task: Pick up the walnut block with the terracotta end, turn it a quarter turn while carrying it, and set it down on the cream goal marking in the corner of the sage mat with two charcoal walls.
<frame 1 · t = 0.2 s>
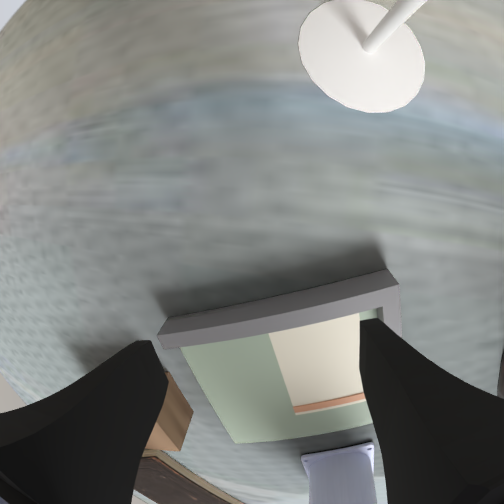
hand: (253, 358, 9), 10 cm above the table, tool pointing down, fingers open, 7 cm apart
wineglass: (364, 51, 14), on the table
walnut block: (142, 394, 25), on the table
hardcover book: (178, 485, 34), on the table
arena: (297, 380, 22), on the table
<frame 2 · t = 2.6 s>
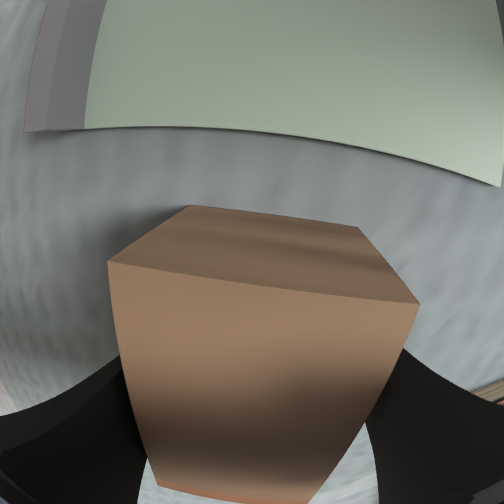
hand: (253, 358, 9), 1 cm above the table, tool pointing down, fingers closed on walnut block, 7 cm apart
walnut block: (257, 334, 11), on the table, touching gripper
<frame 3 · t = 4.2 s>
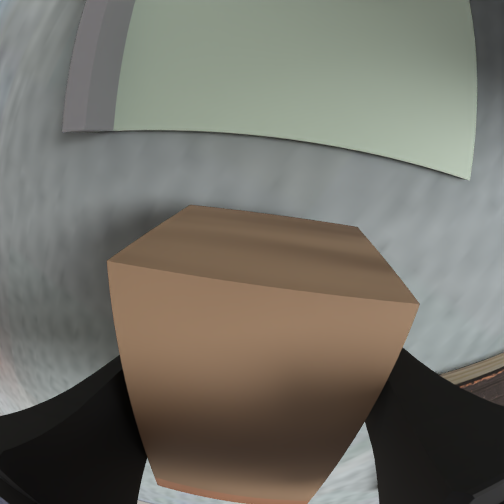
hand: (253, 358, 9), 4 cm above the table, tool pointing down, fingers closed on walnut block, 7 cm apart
walnut block: (257, 333, 11), point 2 cm above the table, touching gripper
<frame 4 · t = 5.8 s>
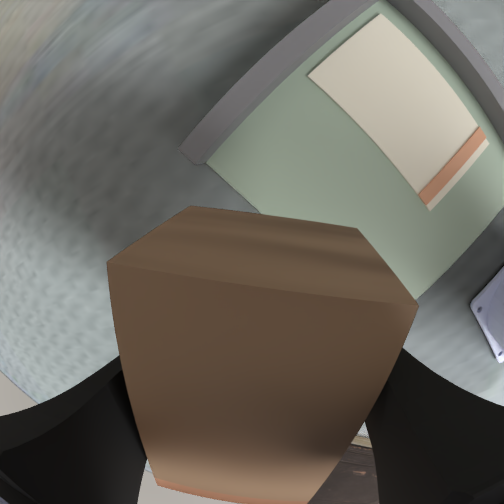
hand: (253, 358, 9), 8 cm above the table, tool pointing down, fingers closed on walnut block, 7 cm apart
walnut block: (257, 334, 11), point 7 cm above the table, touching gripper
hardcover book: (334, 468, 26), on the table
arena: (396, 148, 14), on the table
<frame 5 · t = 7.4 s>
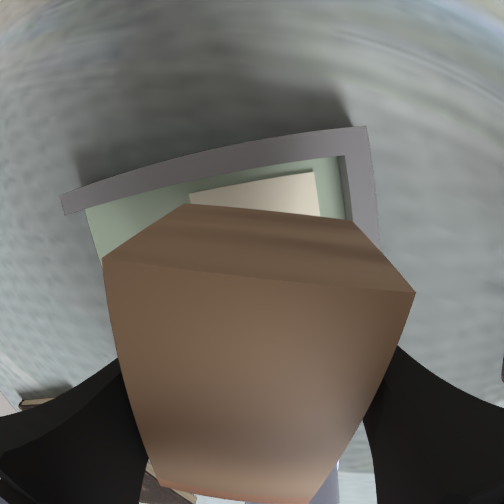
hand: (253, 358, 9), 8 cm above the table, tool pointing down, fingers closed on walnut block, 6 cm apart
walnut block: (255, 330, 11), point 6 cm above the table, touching gripper
hardcover book: (107, 452, 29), on the table
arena: (231, 292, 17), on the table
when the fingers open (3 cm above the table, at t = 9.0 s): walnut block stays where it is, resting on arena.
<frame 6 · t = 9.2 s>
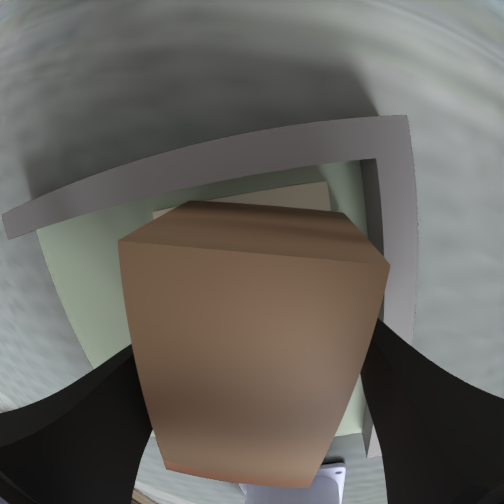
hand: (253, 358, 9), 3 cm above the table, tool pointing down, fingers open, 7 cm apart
walnut block: (257, 318, 12), point 1 cm above the table, touching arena
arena: (214, 337, 13), on the table
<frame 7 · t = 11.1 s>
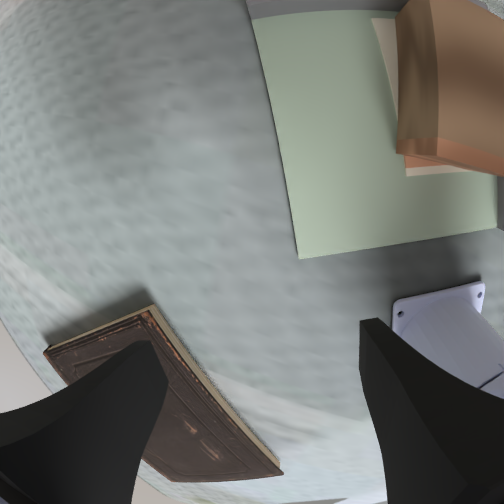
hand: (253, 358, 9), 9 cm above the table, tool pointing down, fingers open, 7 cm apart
walnut block: (437, 90, 13), point 1 cm above the table, touching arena
hardcover book: (166, 411, 26), on the table
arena: (406, 111, 14), on the table
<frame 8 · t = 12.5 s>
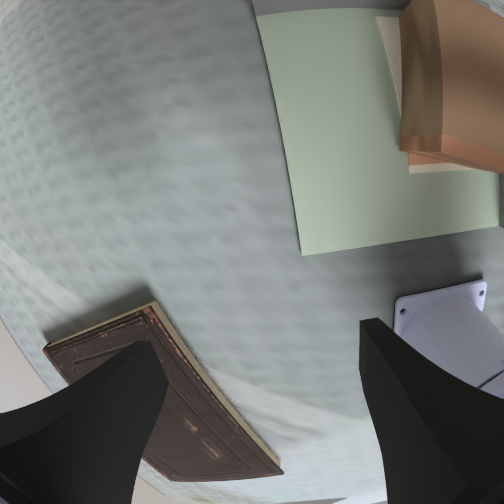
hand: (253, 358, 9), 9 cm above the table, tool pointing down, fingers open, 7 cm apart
walnut block: (440, 89, 13), point 1 cm above the table, touching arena
hardcover book: (166, 410, 26), on the table
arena: (409, 108, 14), on the table
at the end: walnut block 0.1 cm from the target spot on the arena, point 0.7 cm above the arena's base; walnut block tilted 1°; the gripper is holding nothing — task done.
